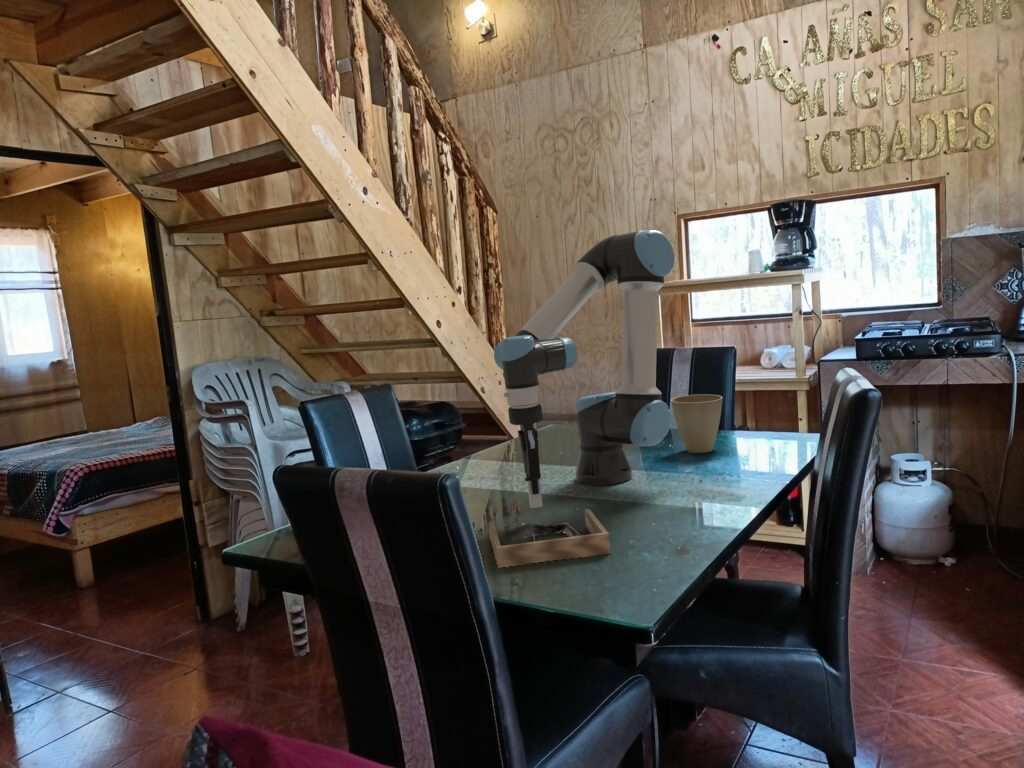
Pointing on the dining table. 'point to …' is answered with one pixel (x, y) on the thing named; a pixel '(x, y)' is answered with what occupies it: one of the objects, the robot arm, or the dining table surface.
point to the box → (553, 546)
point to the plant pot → (697, 420)
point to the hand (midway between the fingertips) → (536, 506)
